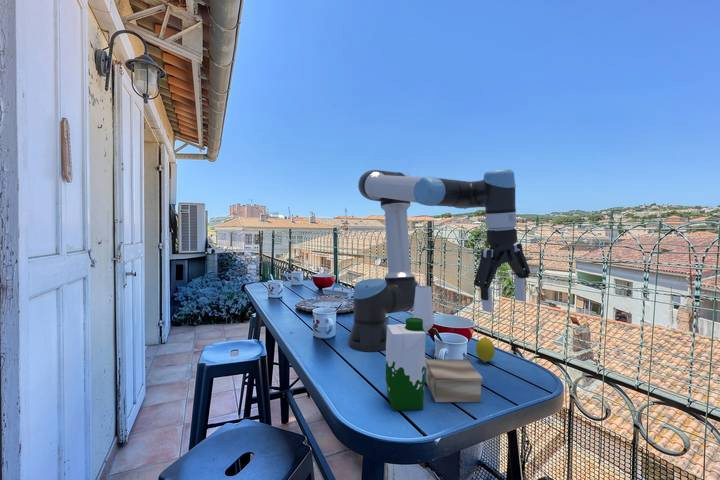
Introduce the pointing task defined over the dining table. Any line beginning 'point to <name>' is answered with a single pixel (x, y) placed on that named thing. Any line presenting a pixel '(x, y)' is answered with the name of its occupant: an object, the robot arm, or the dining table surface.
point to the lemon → (485, 349)
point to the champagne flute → (424, 307)
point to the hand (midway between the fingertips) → (504, 305)
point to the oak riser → (453, 380)
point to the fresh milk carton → (406, 365)
